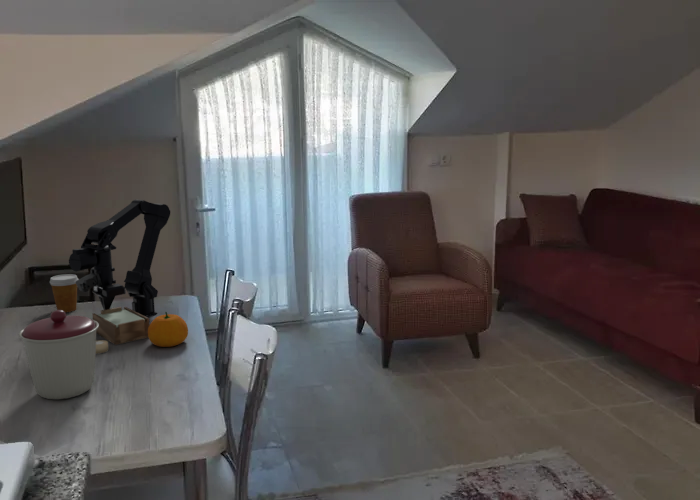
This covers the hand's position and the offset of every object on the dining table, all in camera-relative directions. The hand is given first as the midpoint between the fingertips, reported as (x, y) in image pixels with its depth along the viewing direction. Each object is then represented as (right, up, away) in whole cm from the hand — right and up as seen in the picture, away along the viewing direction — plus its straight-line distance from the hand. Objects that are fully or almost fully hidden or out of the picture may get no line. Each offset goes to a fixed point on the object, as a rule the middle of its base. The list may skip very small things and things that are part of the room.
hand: (106, 311), depth 221 cm
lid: (+7, -1, -8) cm, 11 cm away
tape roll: (+6, -9, -22) cm, 24 cm away
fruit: (+24, -8, -16) cm, 30 cm away
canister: (+8, -15, -51) cm, 54 cm away
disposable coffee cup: (-21, -1, +20) cm, 29 cm away
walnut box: (+7, -6, -7) cm, 12 cm away
